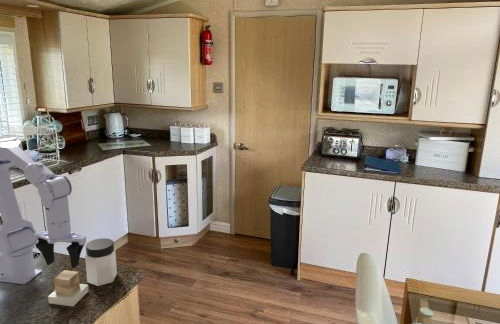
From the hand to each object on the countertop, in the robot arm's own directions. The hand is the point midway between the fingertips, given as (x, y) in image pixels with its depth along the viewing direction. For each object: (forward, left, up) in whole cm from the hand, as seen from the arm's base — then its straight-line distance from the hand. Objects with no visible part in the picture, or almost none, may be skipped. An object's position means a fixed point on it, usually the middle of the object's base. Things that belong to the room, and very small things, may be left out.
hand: (62, 264), depth 106 cm
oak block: (+1, 0, -8) cm, 8 cm away
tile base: (+1, 0, -10) cm, 10 cm away
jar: (+5, +11, -11) cm, 16 cm away
